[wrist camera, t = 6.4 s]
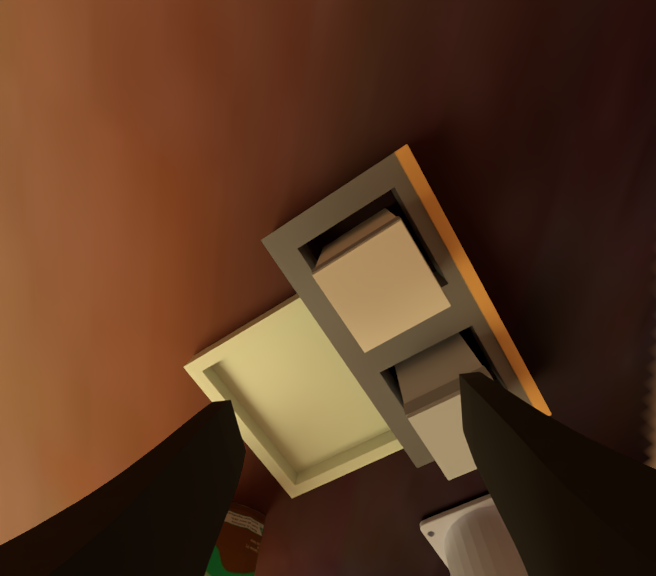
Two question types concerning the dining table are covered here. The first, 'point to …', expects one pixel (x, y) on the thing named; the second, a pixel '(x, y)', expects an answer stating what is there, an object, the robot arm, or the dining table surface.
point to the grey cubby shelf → (464, 312)
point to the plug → (378, 280)
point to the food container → (237, 543)
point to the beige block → (439, 400)
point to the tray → (294, 398)
